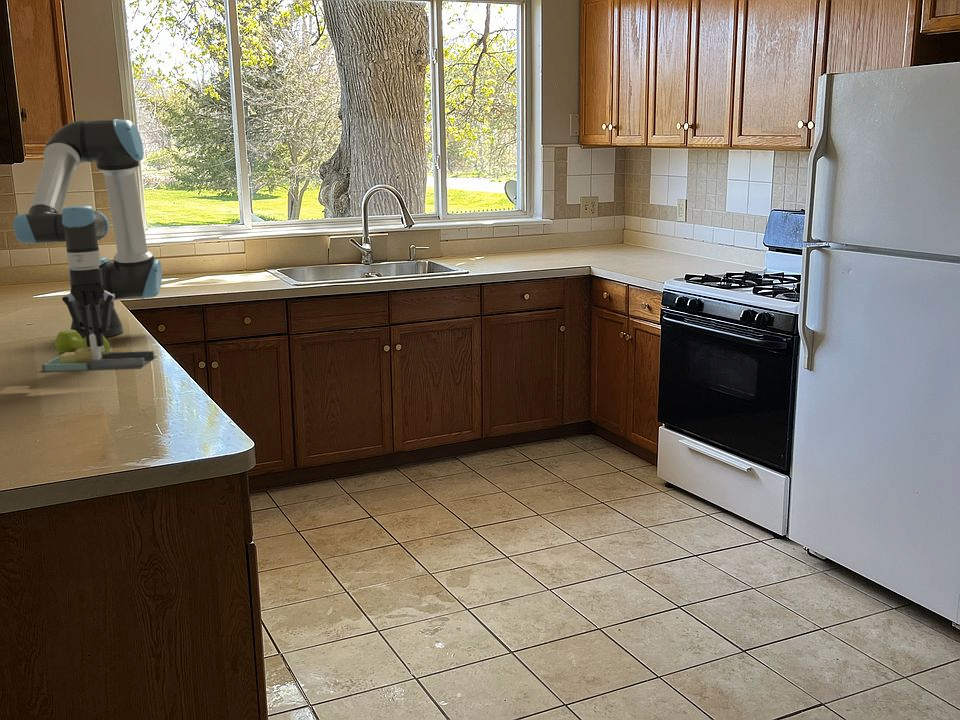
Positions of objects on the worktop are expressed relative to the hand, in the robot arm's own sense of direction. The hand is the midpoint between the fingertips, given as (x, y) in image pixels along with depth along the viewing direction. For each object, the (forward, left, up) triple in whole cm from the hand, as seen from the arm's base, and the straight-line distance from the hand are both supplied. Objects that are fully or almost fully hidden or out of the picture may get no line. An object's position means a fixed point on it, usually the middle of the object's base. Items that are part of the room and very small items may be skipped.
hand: (97, 358), depth 239 cm
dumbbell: (-16, -10, -3) cm, 19 cm away
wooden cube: (0, -3, -1) cm, 3 cm away
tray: (0, -6, -3) cm, 7 cm away
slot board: (0, +6, -3) cm, 7 cm away
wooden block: (0, -7, -2) cm, 7 cm away
